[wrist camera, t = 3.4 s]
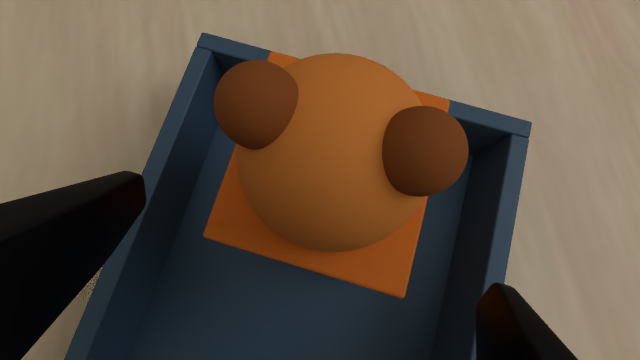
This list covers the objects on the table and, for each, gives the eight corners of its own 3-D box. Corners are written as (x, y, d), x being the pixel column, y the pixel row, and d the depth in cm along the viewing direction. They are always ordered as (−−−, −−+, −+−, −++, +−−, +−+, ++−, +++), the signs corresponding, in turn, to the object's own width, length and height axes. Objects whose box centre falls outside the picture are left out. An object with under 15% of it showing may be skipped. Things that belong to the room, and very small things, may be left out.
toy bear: (358, 272, 17) (470, 340, 4) (262, 242, 17) (116, 229, 5) (384, 173, 18) (532, 8, 5) (293, 146, 18) (241, -66, 6)
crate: (402, 544, 15) (437, 669, 10) (89, 434, 16) (0, 507, 11) (482, 151, 19) (533, 121, 14) (227, 79, 20) (201, 31, 15)
